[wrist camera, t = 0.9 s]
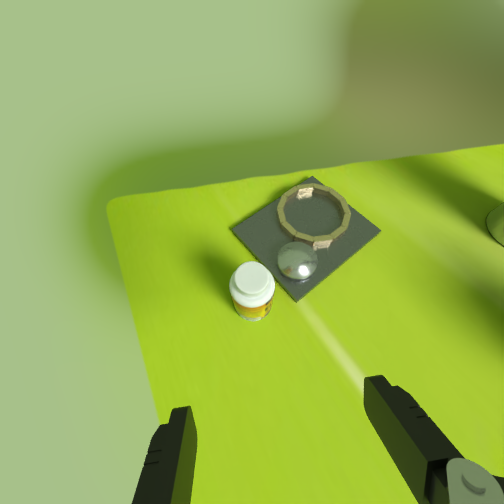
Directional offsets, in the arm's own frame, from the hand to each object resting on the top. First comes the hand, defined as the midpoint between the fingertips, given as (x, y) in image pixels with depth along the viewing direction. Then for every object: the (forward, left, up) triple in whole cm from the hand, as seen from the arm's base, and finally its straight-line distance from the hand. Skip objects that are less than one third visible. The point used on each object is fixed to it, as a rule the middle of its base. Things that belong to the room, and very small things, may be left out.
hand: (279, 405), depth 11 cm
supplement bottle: (-6, -10, -23) cm, 26 cm away
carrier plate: (-20, -14, -23) cm, 34 cm away
